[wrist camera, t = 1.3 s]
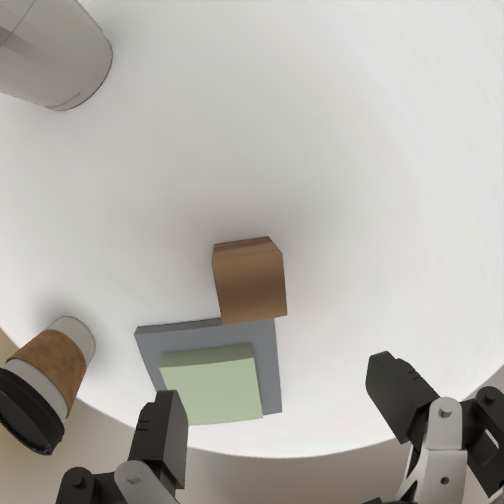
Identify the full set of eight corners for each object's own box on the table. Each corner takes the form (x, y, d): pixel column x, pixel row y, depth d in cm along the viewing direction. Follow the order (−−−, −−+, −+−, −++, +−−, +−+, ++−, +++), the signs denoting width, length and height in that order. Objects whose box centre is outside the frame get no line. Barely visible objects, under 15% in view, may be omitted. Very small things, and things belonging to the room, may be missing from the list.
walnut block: (214, 244, 25) (212, 263, 19) (268, 236, 25) (282, 253, 20) (222, 294, 26) (223, 325, 21) (273, 286, 27) (287, 315, 21)
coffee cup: (87, 377, 27) (44, 464, 13) (38, 332, 25) (-25, 405, 11) (117, 343, 26) (67, 446, 12) (62, 291, 24) (-21, 367, 10)
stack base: (137, 327, 26) (127, 348, 22) (271, 310, 27) (278, 330, 23) (172, 415, 30) (169, 438, 26) (280, 404, 31) (286, 426, 27)
